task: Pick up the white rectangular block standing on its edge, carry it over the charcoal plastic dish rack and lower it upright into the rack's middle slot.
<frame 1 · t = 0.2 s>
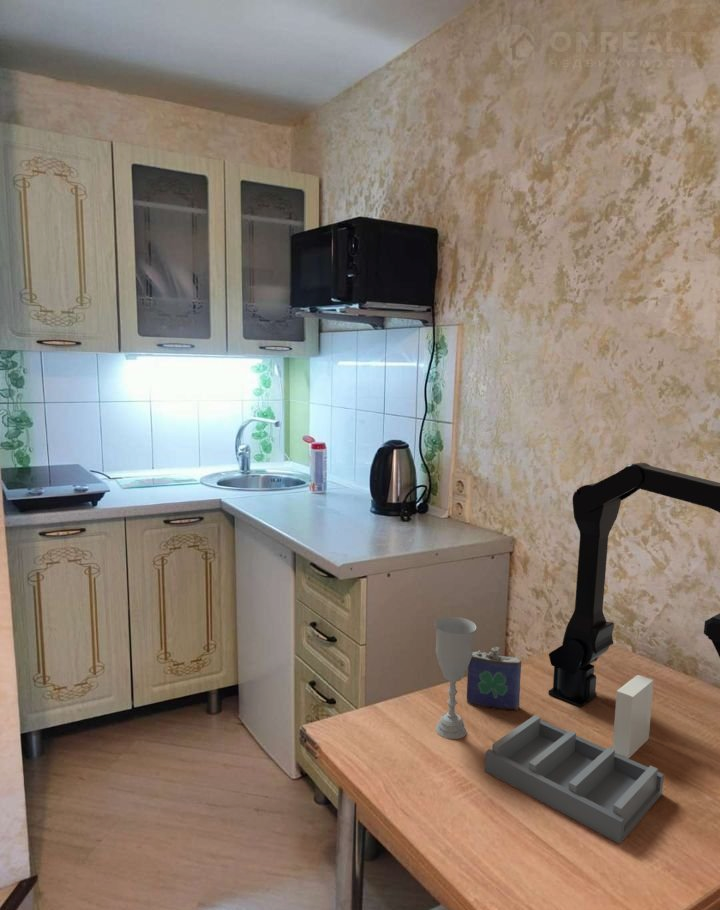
white rectangular block: (630, 744, 99), on the table
chalice: (450, 731, 102), on the table
rack: (571, 782, 89), on the table
flask: (492, 706, 110), on the table
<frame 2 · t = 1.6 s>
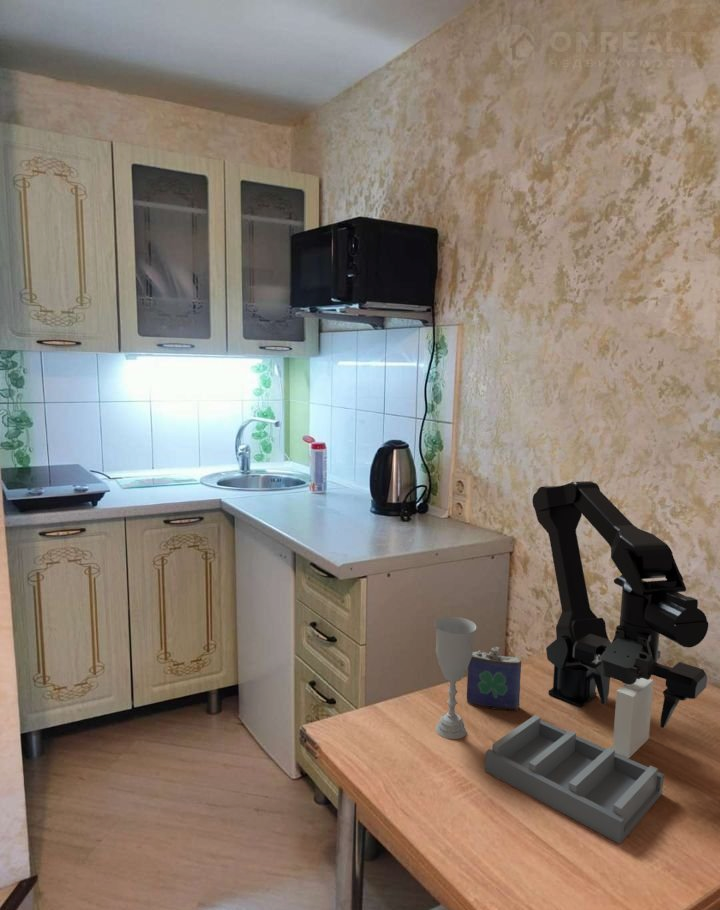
hand: (632, 714, 98), 5 cm above the table, tool pointing down, fingers open, 9 cm apart
nothing on the table moved.
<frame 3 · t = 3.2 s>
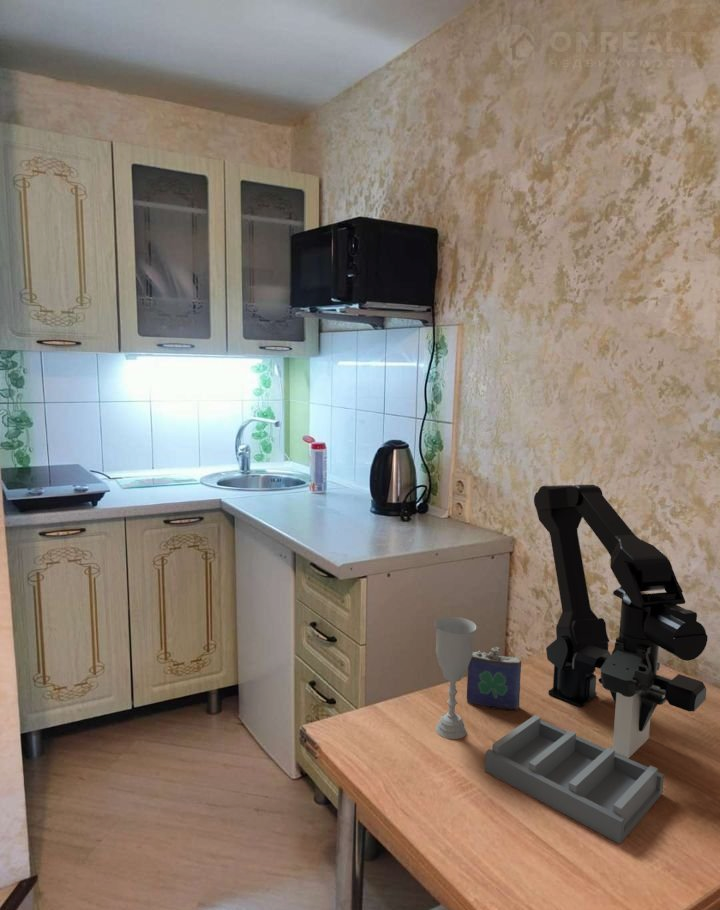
hand: (632, 726, 99), 3 cm above the table, tool pointing down, fingers closed on white rectangular block, 2 cm apart
white rectangular block: (630, 744, 99), on the table, touching gripper
everything else where it was.
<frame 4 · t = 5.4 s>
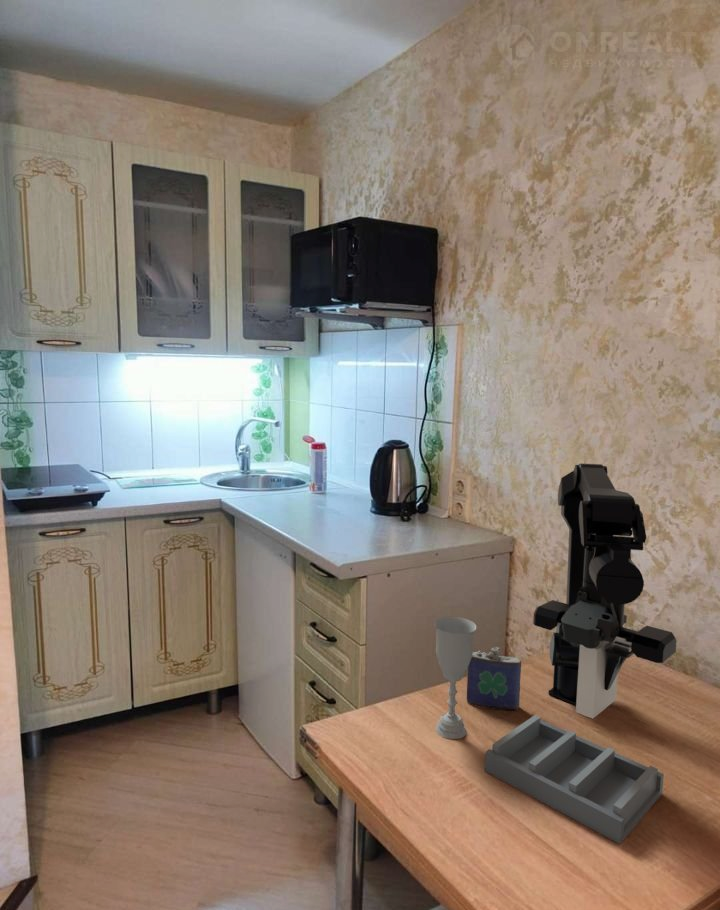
hand: (597, 685, 90), 13 cm above the table, tool pointing down, fingers closed on white rectangular block, 2 cm apart
white rectangular block: (596, 705, 91), point 10 cm above the table, touching gripper
everything else where it was.
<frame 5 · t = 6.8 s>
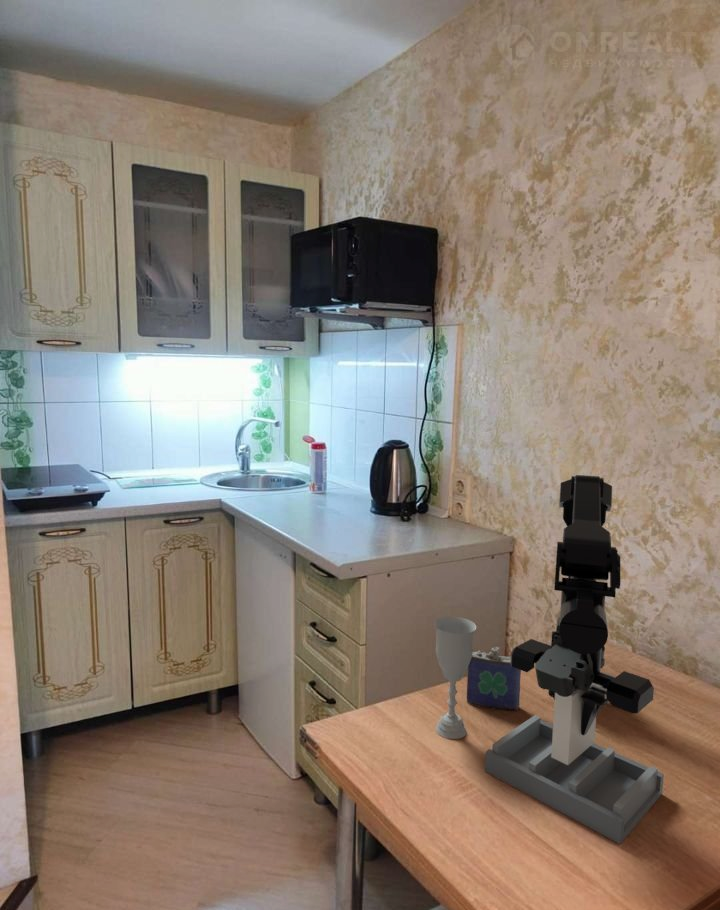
hand: (574, 729, 88), 8 cm above the table, tool pointing down, fingers closed on white rectangular block, 2 cm apart
white rectangular block: (573, 749, 89), point 5 cm above the table, touching gripper
everything else where it was.
when the fingers open (5 cm above the table, at t = 7.9 s): white rectangular block stays where it is, resting on rack.
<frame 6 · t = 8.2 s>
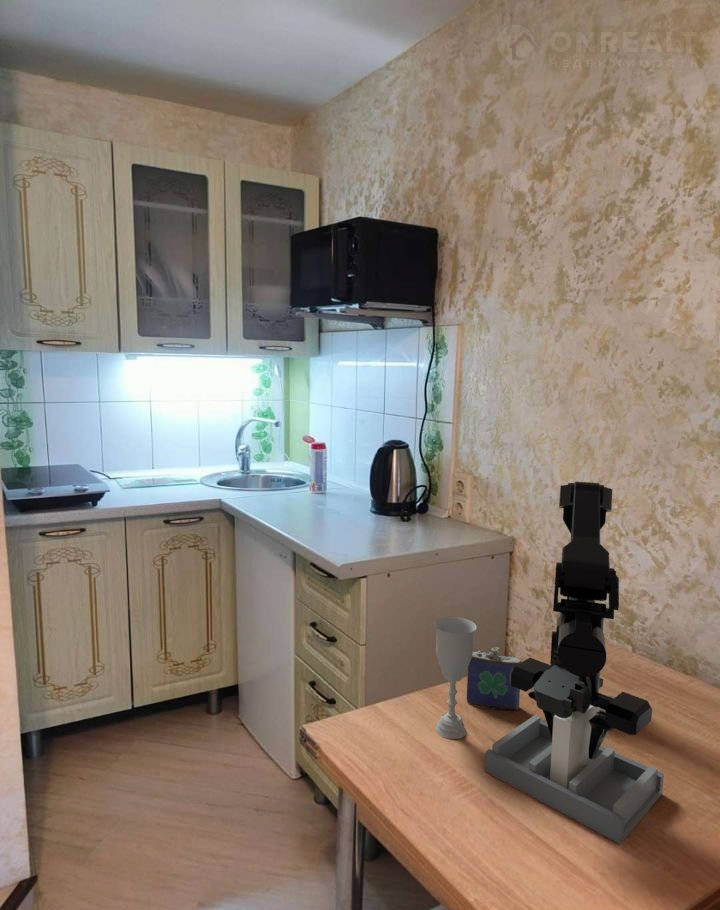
hand: (573, 749, 89), 5 cm above the table, tool pointing down, fingers open, 5 cm apart
white rectangular block: (571, 775, 89), point 1 cm above the table, touching rack
everything else where it was.
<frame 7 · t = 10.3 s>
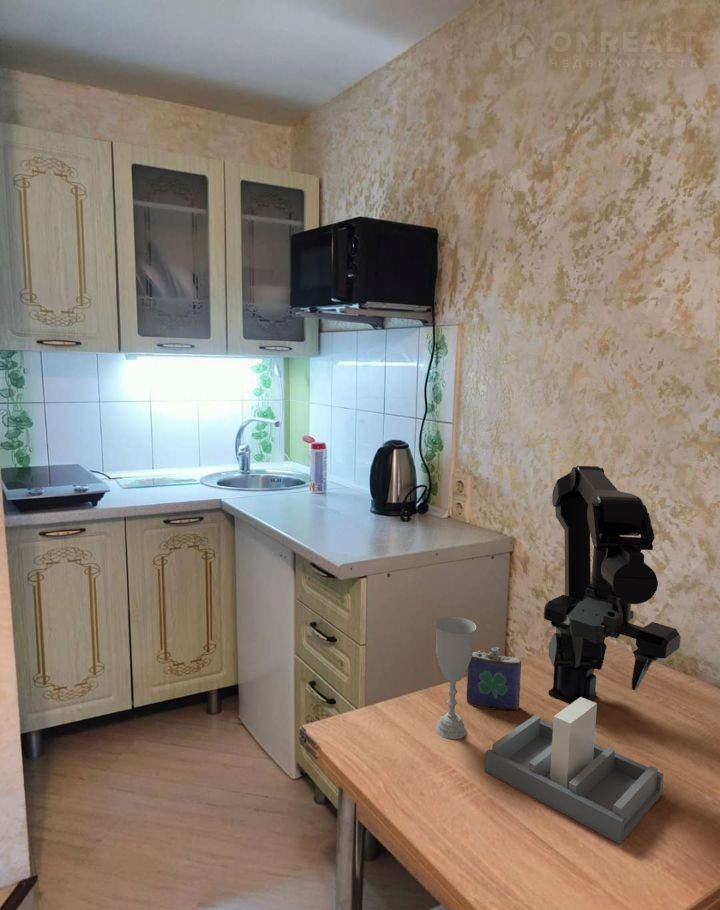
hand: (604, 677, 95), 13 cm above the table, tool pointing down, fingers open, 9 cm apart
nothing on the table moved.
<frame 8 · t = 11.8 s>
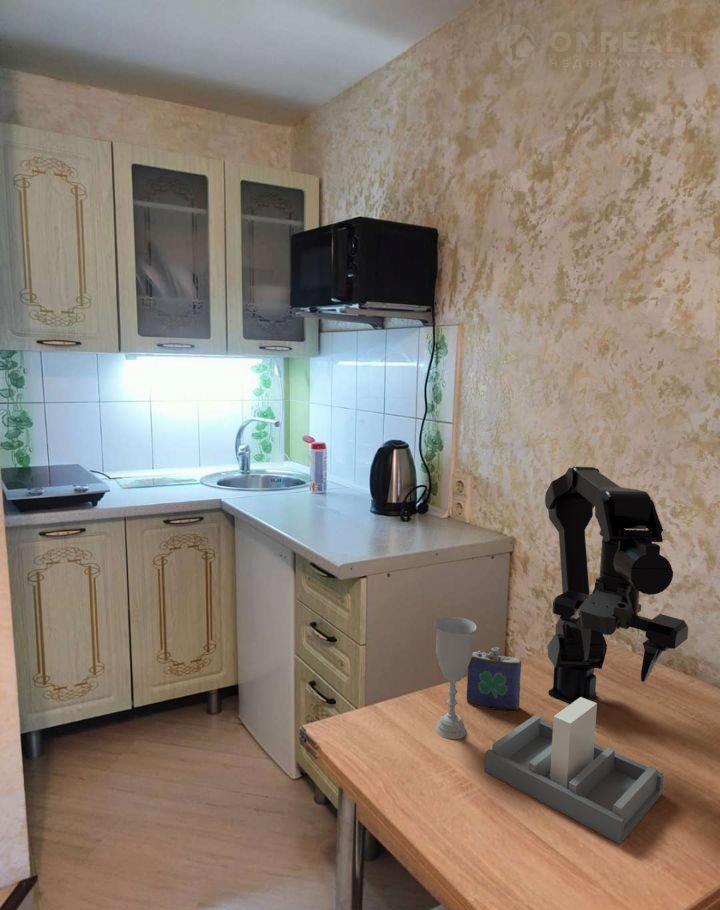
hand: (613, 670, 96), 13 cm above the table, tool pointing down, fingers open, 9 cm apart
nothing on the table moved.
at the end: white rectangular block 0.0 cm off-centre on the rack, point 1.0 cm above the rack's base; white rectangular block tilted 0°; the gripper is holding nothing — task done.
